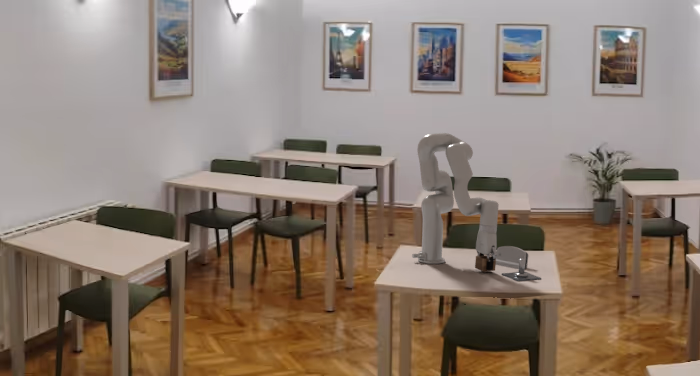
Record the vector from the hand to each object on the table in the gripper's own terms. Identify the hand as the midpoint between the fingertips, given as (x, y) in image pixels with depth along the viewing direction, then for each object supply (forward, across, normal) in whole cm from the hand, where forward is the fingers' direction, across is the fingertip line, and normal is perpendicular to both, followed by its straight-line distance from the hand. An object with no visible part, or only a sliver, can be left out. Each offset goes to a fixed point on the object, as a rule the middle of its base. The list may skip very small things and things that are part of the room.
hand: (485, 267), depth 354 cm
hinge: (+2, -8, +19) cm, 21 cm away
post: (+2, +13, +10) cm, 17 cm away
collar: (+1, 0, 0) cm, 1 cm away
